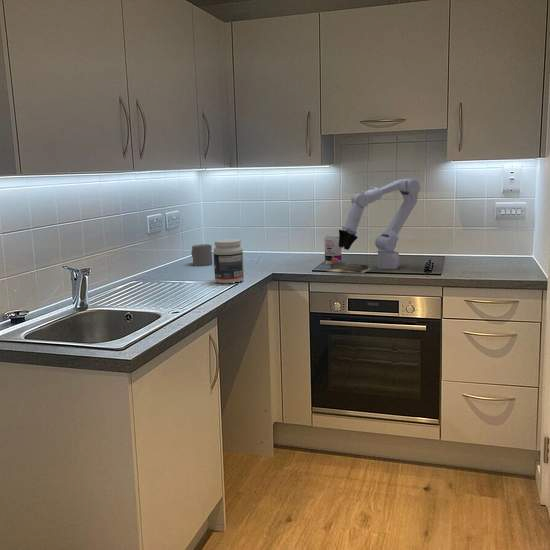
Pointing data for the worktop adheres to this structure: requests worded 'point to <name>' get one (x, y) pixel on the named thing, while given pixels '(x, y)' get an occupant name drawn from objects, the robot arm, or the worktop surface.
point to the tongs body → (339, 266)
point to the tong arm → (350, 267)
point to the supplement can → (332, 249)
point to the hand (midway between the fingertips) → (343, 248)
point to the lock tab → (334, 260)
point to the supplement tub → (228, 261)
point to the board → (348, 270)
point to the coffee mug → (202, 255)
